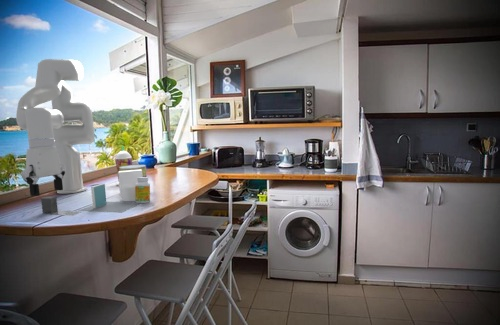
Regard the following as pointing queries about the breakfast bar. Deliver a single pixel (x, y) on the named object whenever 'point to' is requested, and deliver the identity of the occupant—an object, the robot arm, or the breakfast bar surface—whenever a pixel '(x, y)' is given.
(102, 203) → the tile
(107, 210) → the mat
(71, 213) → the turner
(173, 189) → the breakfast bar surface
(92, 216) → the breakfast bar surface
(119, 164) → the smoothie
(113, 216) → the breakfast bar surface
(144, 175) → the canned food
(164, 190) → the breakfast bar surface
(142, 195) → the supplement bottle
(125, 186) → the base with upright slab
